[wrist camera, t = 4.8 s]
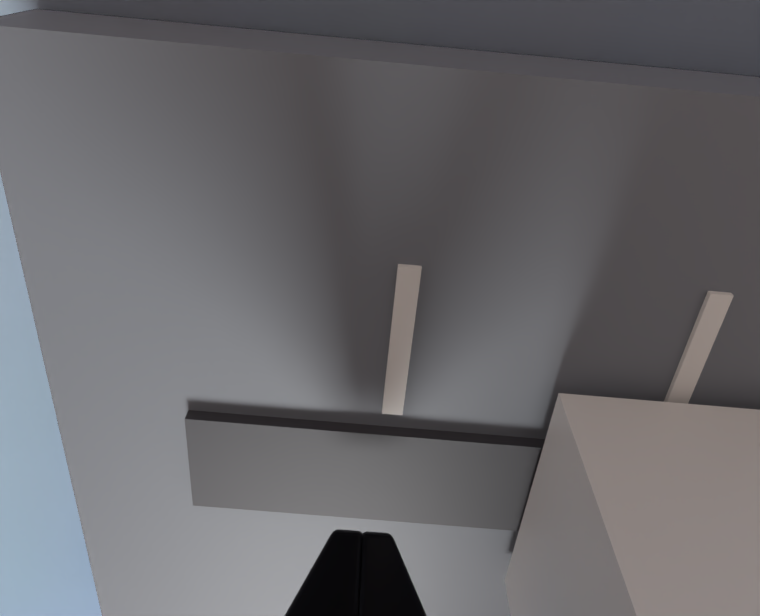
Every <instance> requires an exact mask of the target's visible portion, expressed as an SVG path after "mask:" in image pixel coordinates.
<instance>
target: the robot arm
mask: <svg viewBox="0 0 760 616" xmlns="http://www.w3.org/2000/svg"><path fill="white" fill-rule="evenodd" d="M285 616H427V615H426V613H425V610H424V608H423V606H422V603H421V601H420V599H419V596H418V594H417V592H416V589H415V587H414V585H413V582H412V580H411V578H410V575H409V573H408V571H407V568H406V566H405V564H404V561H403V559H402V556H401V554H400V552H399V549H398V547H397V545H396V542H395V540H394V538H393V537H392V535H390V534H389V533H382V532H368V531H367V532H364V533H363V534H362V532H360V531H355V530H341V529H337V530H335V531H333V532H332V534H331V535H330V537H329V538H328V540H327V542H326V544H325V545H324V547H323V549H322V551H321V552H320V554H319V556H318V558H317V559H316V561H315V563H314V565H313V566H312V568H311V570H310V572H309V573H308V575H307V577H306V579H305V580H304V582H303V584H302V586H301V587H300V589H299V591H298V593H297V594H296V596H295V598H294V600H293V602H292V603H291V605H290V607H289V609H288V610H287V612H286V614H285Z"/></svg>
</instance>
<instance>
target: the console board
mask: <svg viewBox="0 0 760 616" xmlns="http://www.w3.org/2000/svg"><path fill="white" fill-rule="evenodd" d="M0 172H1V177H2V181H3V186H4V190H5V194H6V199H7V203H8V207H9V212H10V216H11V220H12V225H13V229H14V233H15V238H16V242H17V247H18V251H19V255H20V260H21V264H22V268H23V273H24V277H25V281H26V286H27V290H28V294H29V299H30V303H31V308H32V312H33V316H34V321H35V325H36V329H37V334H38V338H39V342H40V347H41V351H42V355H43V360H44V364H45V369H46V373H47V377H48V382H49V386H50V390H51V395H52V399H53V403H54V408H55V412H56V416H57V421H58V425H59V430H60V434H61V438H62V443H63V447H64V451H65V456H66V460H67V464H68V469H69V473H70V478H71V482H72V486H73V491H74V495H75V499H76V504H77V508H78V512H79V517H80V521H81V525H82V530H83V534H84V539H85V543H86V547H87V552H88V556H89V560H90V565H91V569H92V573H93V578H94V582H95V586H96V591H97V595H98V600H99V604H100V608H101V613H102V616H285V614H286V612H287V610H288V609H289V607H290V605H291V603H292V602H293V600H294V598H295V596H296V594H297V593H298V591H299V589H300V587H301V586H302V584H303V582H304V580H305V579H306V577H307V575H308V573H309V572H310V570H311V568H312V566H313V565H314V563H315V561H316V559H317V558H318V556H319V554H320V552H321V551H322V549H323V547H324V545H325V544H326V542H327V540H328V538H329V537H330V535H331V534H332V532H333V531H335V530H337V529H341V530H355V531H360V532H362V534H363V533H364V532H367V531H368V532H382V533H389V534H390V535H392V537H393V538H394V540H395V542H396V545H397V547H398V549H399V552H400V554H401V556H402V559H403V561H404V564H405V566H406V568H407V571H408V573H409V575H410V578H411V580H412V582H413V585H414V587H415V589H416V592H417V594H418V596H419V599H420V601H421V603H422V606H423V608H424V610H425V613H426V615H427V616H511V615H510V609H509V603H508V596H507V590H506V584H505V577H506V574H507V570H508V567H509V563H510V560H511V556H512V553H513V550H514V546H515V543H516V539H517V536H518V532H519V529H520V525H521V522H522V518H523V515H524V511H525V508H526V504H527V501H528V497H529V494H530V490H531V487H532V484H533V480H534V477H535V473H536V470H537V466H538V463H539V459H540V456H541V452H542V449H543V445H544V442H545V438H546V435H547V431H548V428H549V424H550V421H551V418H552V414H553V411H554V407H555V404H556V400H557V397H558V393H564V394H577V395H589V396H601V397H613V398H625V399H637V400H649V401H661V402H673V403H685V404H697V405H709V406H721V407H733V408H745V409H757V410H760V77H756V76H745V75H734V74H724V73H713V72H702V71H692V70H681V69H670V68H660V67H649V66H639V65H628V64H617V63H607V62H596V61H585V60H575V59H564V58H553V57H543V56H532V55H521V54H511V53H500V52H489V51H479V50H468V49H458V48H447V47H436V46H426V45H415V44H404V43H394V42H383V41H372V40H362V39H351V38H340V37H330V36H319V35H308V34H298V33H287V32H277V31H266V30H255V29H245V28H234V27H223V26H213V25H202V24H191V23H181V22H170V21H159V20H149V19H138V18H127V17H117V16H106V15H96V14H85V13H74V12H64V11H53V10H42V9H33V10H28V11H23V12H18V13H13V14H8V15H3V16H0Z"/></svg>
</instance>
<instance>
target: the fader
mask: <svg viewBox="0 0 760 616" xmlns="http://www.w3.org/2000/svg"><path fill="white" fill-rule="evenodd" d="M505 584H506V590H507V596H508V603H509V609H510V615H511V616H760V410H757V409H745V408H733V407H721V406H709V405H697V404H685V403H673V402H661V401H649V400H637V399H625V398H613V397H601V396H589V395H577V394H564V393H558V397H557V400H556V404H555V407H554V411H553V414H552V418H551V421H550V424H549V428H548V431H547V435H546V438H545V442H544V445H543V449H542V452H541V456H540V459H539V463H538V466H537V470H536V473H535V477H534V480H533V484H532V487H531V490H530V494H529V497H528V501H527V504H526V508H525V511H524V515H523V518H522V522H521V525H520V529H519V532H518V536H517V539H516V543H515V546H514V550H513V553H512V556H511V560H510V563H509V567H508V570H507V574H506V577H505Z"/></svg>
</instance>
